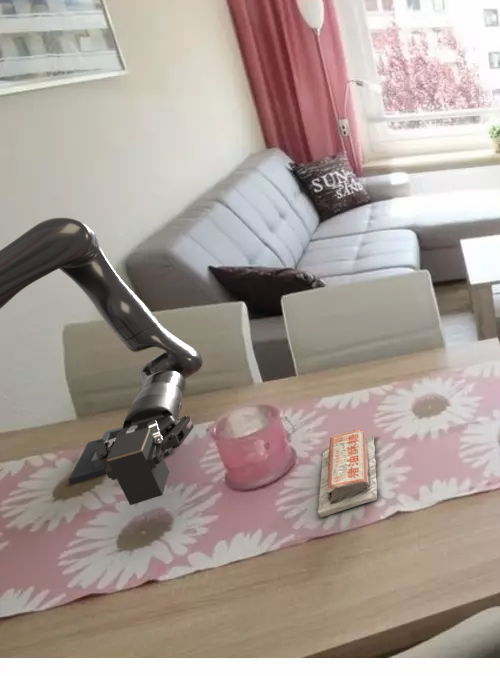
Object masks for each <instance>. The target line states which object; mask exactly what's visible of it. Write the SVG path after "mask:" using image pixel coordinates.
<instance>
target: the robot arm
mask: <svg viewBox="0 0 500 676" xmlns="http://www.w3.org/2000/svg"><path fill="white" fill-rule="evenodd" d="M57 270H60V271H61V272H63V274H65V275H66V276H67V277H68V278H70V279H71V280H72V281H73V282H74V283H75V284H76V285H77V286H78V287H79V288H80V290H82V291H83V293H84V294H85V295H86V296H87V298H88V299H89V300H90V302H91V303H92V304H93V306H94V308H95V310H97V312H98V314H99V315H100V316H101V318H102V319H103V321H104V322H105V323H106V325H108V327H109V328H110V330H112V332H113V333H114V334H115V336H116V337H117V338H118V339H119V340H120V341H121V342H122V343H123V344H124V345H125V347H126V348H127V349H128V350H129V351H130V352H133V353H139V352H143V351H146V350H149V349H152V348H157V349H161V350H163V351H165V352H163V353H161V354H159V355H157V356H155V357H154V358H152V359H150V360H149V361H146V363H144V365H142V367H141V368H140V369H139V373H138V376H139V379H140V384H141V387H140V390H139V392H138V393H137V394H136V396H135V397H134V398H133V401H132V403H131V405H130V408H129V409H128V411H127V414H126V416H125V418H124V421H123V423H122V427H123V429H122V431H120V432H119V433H118V434H117V436H120V435H123V434H127V433H131V432H134V431H138V430H142V429H145V428H150V430H151V432H152V434H153V437H154V440H153V442H154V444H155V445H152V446H151V449H150V452H149V455H148V457H147V461H148V463H149V466H150V468H151V469H152V468H155V467H157V465H158V464H159V463H161V461H162V459H164V457H165V456H164V453H166V452H167V449H169V448H171V447H172V449H177V448H179V447H180V446H181V445H182V444H183V442H184V441H185V440H186V438H187V437H188V436H189V434H190V433H191V431H192V430H193V429H194V427H195V426H194V423H193V421H192V418H191V417H190V415H189V414H188V415H183V416H182V417H181V418H180V419H179V417H180V412H181V410H182V408H183V399H184V395H185V392H186V390H187V389H186V388H187V380H186V379H187V378H189V377H191V376H193V375H195V374H196V373H198V372H200V370H201V369H202V367H203V357H202V355H201V354H200V352H199V351H198V350H197V349H196V348H195V347H194V346H192V345H191V344H188V343H187V342H186V341H184V340H182V339H181V338H179V337H178V336H176V335H175V334H174V333H172V331H170V330H169V329H167V328H166V327H165V325H163V323H162V322H161V321H160V320H159V319H158V318H157V316H156V315H155V314H154V313H153V312H152V310H151V309H150V308H149V307H148V306H147V305H146V304H145V302H144V301H143V300H142V299H141V298H140V297H139V296H138V295H137V294H136V293H135V292H134V291H133V290H132V289H131V288H130V287H129V286H128V285H127V283H126V282H125V281H124V280H123V279H122V278H121V277H120V275H119V274H118V273H117V271H116V270H115V268H113V265H112V264H111V263H110V262H109V260H108V258H107V257H106V255H105V253H104V251H103V249H102V246H101V245H100V243H99V241H98V237H97V235H96V234H95V232H94V231H93V230H92V229H91V228H90V227H89V226H88V225H87V224H85V223H84V222H82V221H80V220H78V219H75V218H70V217H52V218H49V219H44V220H42V221H41V222H38V223H37V224H35V225H34V226H32V227H31V228H29V229H28V230H27V231H25V232H24V233H23V234H21V235H20V236H18V237H17V238H16V239H14V240H13V241H11V242H10V243H8V244H7V245H6V246H4V247H3V248H2V249H0V310H1V309H2V308H4V306H6V304H8V303H9V302H10V301H11V300H12V299H13V298H14V297H15V296H16V295H17V294H19V293H20V292H21V291H23V290H24V289H25V288H27V287H28V286H30V285H31V284H33V283H35V282H37V281H38V280H40V279H42V278H44V277H46V276H48V275H50V274H51V273H53V272H55V271H57ZM177 419H178V420H179V421H177ZM117 436H116V438H117ZM165 437H168V438H166V439H164V438H165ZM116 438H113V439H111V440H108V441H105V440H104V439H102V438H99V439H96V440H97V441H96V442H95V446H96V454H97V458H98V460H99V462H100V464H101V466H102V468H103V469H105V471H106V473H107V474H106V476H107V477H108V479H111V481H116V480H117V478H116V476H115V474H114V472H113V470H112V468H111V466H110V464H109V462H108V461H107V457H108V455H109V453H110V451H111V449H112V446H113V444H114V442H115V440H116Z"/></svg>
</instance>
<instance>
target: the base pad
mask: <svg viewBox="0 0 500 676" xmlns="http://www.w3.org/2000/svg"><path fill="white" fill-rule="evenodd" d="M179 420H180V419H179V418H178V419H177V421H179ZM122 429H123V426H120V427H117V428H114V429H110V430H107V431H104V433H103V436H102V437H101V439H104V440H105V441H108V440H111V439H113V438H116V436H117V434H118V433H119V432H120V431H122ZM166 438H168V437H165V438H164V439H166ZM97 440H98V439H95V440H92V441H89V442H87V444H86V446H85V448H84V449H83V452H82V453H81V456H80V457H79V459H78V461H77V463H76V465H75V466H74V469H73V471H72V473H71V475H70V477H69V478H68V479H69V481H70V483H71V485H74V484H78V483H79V482H84V481H87V480H90V479H94V478H97V477H100V476H104V475H107V473H106V471H105V469H103V468H102V466H101V464H100V462H99V460H98V458H97V454H96V446H95V442H96V441H97ZM172 449H173V448H172V447H171V448H169V449H167V452H166V453H164V456H163V457H167V456H170V454H171V452H172Z"/></svg>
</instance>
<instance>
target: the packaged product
mask: <svg viewBox="0 0 500 676" xmlns="http://www.w3.org/2000/svg"><path fill="white" fill-rule="evenodd" d="M329 438H330V439H329V446H328V447H326V448H324V449H323V450H322V457H321V472H320V473H321V474H320V482H319V483H320V484H319V496H318V507H317V508H318V510H317V514H318V516H319V517H320V518H325V517H327V516H331V515H334V514H336V513H339V512H342V511H345V510H348V509H352V508H354V507H357V506H361V505H364V504H367V503H371V502H375V501H378V490H377V489H378V488H377V487H378V486H377V474H376V473H377V472H376V466H377V465H376V463H377V460H376V455H375V454H376V448H375V447H376V446H375V437H374V436H369V437H365V433H364V431H363V430H361V429H360V430H359V429H358V430H357V429H353V430H350V431H347V432H342V433H339V434H336V435H332V436H330V437H329Z"/></svg>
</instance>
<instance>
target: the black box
mask: <svg viewBox="0 0 500 676" xmlns="http://www.w3.org/2000/svg"><path fill="white" fill-rule="evenodd" d="M153 440H154V437H153V434H152V432H151V430H150V428H145V429H142V430H138V431H134V432H131V433H127V434H123V435H120V436H117V438H116V440H115V442H114V444H113V446H112V449H111V451H110V453H109V455H108V457H107V461H108V462H109V464H110V466H111V468H112V470H113V472H114V474H115V476H116V478H117V479H116V480H117V482H118V484H119V486H120V488H121V490H122V492H123V494H124V496H125V498H126V500H127V502H128V505H129V506H132V505H133V506H134V505H136V504H139V503H143V502H146V501H148V500H152V499H155V498H159V497H161V496H163V495H164V491H165V487H166V484H167V481H168V479H169V474H170V470H169V468H168V466H167V463H166V461H165V459H164V458H163V459H162V461H161V463H159V464H158V465H157V467H155V468H152V469H151V468H150V466H149V463H148V461H147V457H148V455H149V452H150V449H151V446H152V445H155V444H154V442H153Z"/></svg>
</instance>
